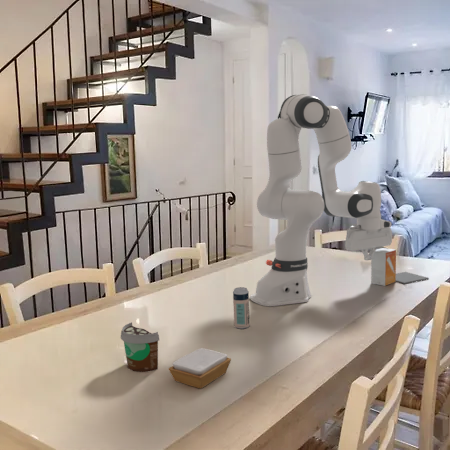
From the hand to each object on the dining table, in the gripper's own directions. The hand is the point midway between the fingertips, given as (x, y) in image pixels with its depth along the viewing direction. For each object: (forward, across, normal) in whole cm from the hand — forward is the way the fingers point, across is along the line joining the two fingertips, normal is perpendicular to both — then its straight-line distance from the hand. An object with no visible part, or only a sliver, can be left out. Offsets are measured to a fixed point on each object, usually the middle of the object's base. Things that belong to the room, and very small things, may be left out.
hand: (368, 259), depth 197 cm
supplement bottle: (+10, -63, -14) cm, 65 cm away
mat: (+10, +19, 0) cm, 22 cm away
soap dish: (+10, -88, -40) cm, 97 cm away
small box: (+10, +8, 0) cm, 13 cm away
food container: (+10, -100, -26) cm, 104 cm away
